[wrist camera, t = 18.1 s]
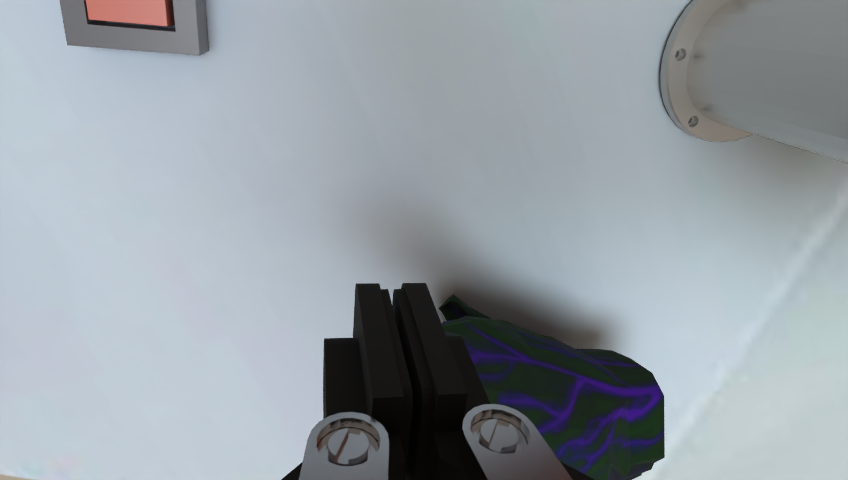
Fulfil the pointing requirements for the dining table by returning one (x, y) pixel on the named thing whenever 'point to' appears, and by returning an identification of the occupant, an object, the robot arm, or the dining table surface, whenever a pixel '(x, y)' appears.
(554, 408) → the decorative plant
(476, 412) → the robot arm
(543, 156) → the dining table surface
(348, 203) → the dining table surface
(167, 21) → the button
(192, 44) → the button housing
